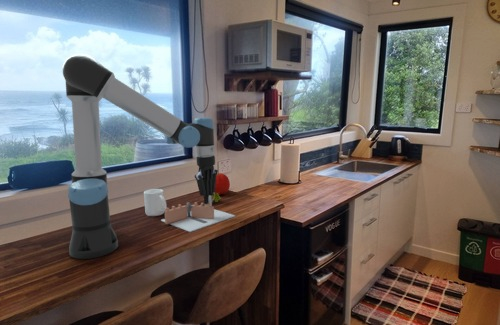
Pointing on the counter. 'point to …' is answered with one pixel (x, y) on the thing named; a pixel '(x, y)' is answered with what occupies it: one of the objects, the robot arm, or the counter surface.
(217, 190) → the tomato
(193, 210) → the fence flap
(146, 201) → the mug
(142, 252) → the counter surface
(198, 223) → the card
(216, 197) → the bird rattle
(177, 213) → the fence fixed
